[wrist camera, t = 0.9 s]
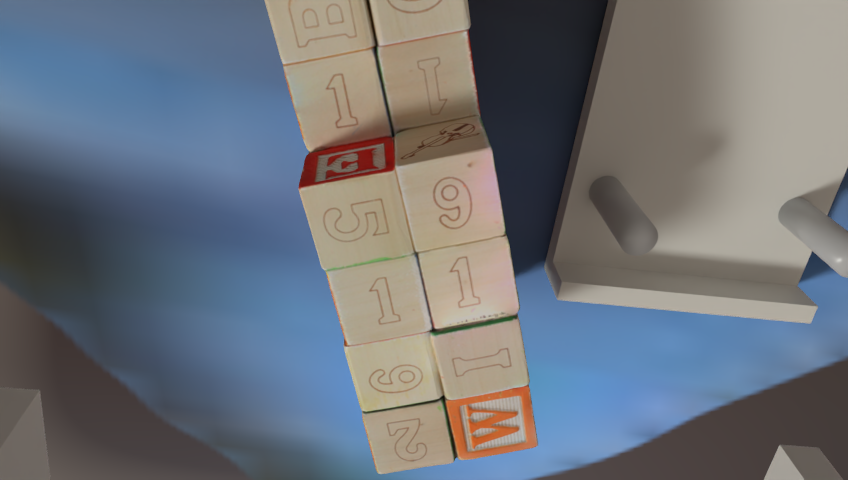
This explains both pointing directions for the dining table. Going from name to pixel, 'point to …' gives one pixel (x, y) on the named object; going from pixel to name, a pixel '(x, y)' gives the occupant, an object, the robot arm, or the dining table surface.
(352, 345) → the stack of blocks
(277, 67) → the dining table surface
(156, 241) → the dining table surface
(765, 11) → the rack with pegs
